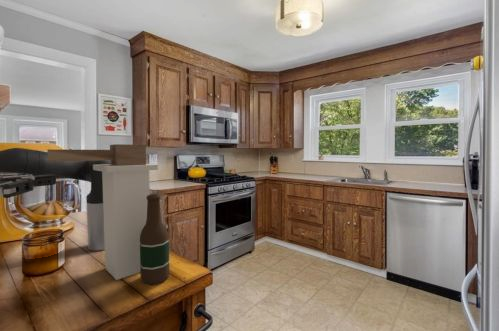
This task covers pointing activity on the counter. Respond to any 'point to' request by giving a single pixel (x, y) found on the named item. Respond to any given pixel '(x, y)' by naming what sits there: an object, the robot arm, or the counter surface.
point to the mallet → (104, 155)
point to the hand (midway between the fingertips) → (55, 179)
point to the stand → (124, 215)
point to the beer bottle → (154, 245)
